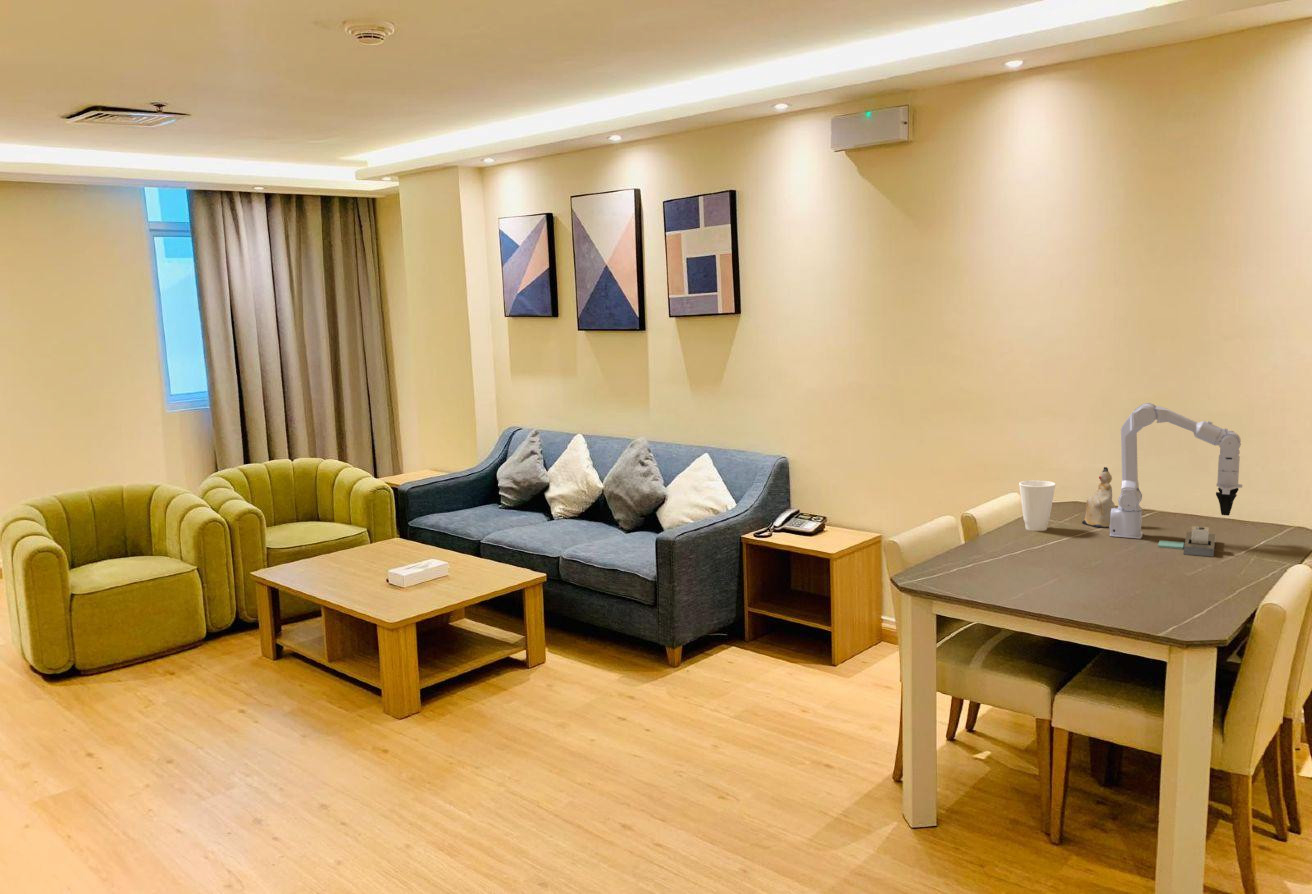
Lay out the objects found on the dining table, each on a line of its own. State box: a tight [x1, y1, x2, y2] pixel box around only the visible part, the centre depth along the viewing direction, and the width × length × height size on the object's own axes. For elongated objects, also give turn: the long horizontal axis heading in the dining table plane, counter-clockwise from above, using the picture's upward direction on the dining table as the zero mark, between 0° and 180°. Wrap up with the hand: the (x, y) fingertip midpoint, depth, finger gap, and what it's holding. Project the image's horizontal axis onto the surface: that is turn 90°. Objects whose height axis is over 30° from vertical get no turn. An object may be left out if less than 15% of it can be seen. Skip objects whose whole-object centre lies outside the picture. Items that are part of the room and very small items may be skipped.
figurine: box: [1081, 466, 1117, 529], centre depth 348 cm, size 12×10×20 cm
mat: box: [1157, 539, 1185, 550], centre depth 318 cm, size 7×7×1 cm
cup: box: [1018, 479, 1057, 532], centre depth 345 cm, size 12×12×16 cm
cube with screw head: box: [1191, 525, 1210, 545], centre depth 311 cm, size 4×4×7 cm
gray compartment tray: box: [1183, 531, 1216, 558], centre depth 314 cm, size 8×20×3 cm, turn 150°
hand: (1226, 512), depth 316 cm, fingers open, 7 cm apart
